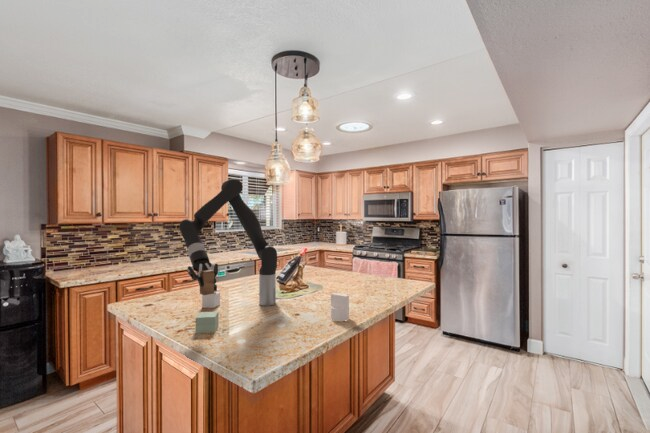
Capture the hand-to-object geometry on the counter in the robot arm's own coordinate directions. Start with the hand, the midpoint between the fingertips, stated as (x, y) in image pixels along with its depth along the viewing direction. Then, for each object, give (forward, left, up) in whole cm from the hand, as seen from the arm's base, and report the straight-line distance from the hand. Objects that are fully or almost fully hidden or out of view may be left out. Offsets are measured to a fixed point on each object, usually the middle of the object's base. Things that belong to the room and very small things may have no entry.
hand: (208, 284), depth 137 cm
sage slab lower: (+1, -2, -21) cm, 21 cm away
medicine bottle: (+7, -40, -20) cm, 45 cm away
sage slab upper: (+1, -2, -17) cm, 17 cm away
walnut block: (+1, -2, -4) cm, 5 cm away
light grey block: (-60, -8, -20) cm, 64 cm away
